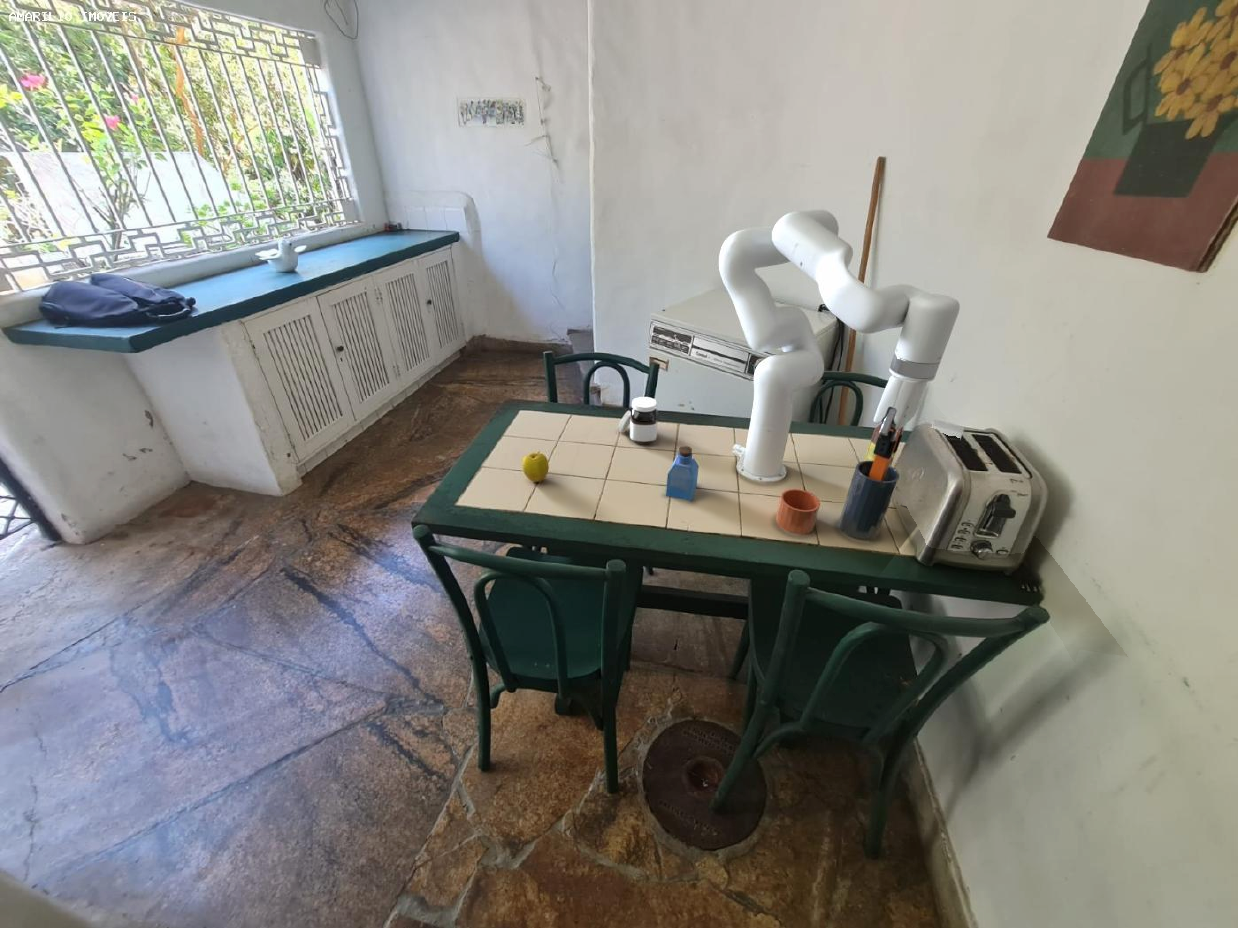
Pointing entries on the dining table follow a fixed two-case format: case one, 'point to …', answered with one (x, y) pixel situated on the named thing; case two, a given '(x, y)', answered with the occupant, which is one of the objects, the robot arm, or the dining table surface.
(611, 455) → the dining table surface
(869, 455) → the sauce bottle
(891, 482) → the dark blue cylindrical vase
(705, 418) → the dining table surface
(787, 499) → the brush holder
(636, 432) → the spread jar
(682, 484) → the perfume bottle
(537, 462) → the apple
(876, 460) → the brush
